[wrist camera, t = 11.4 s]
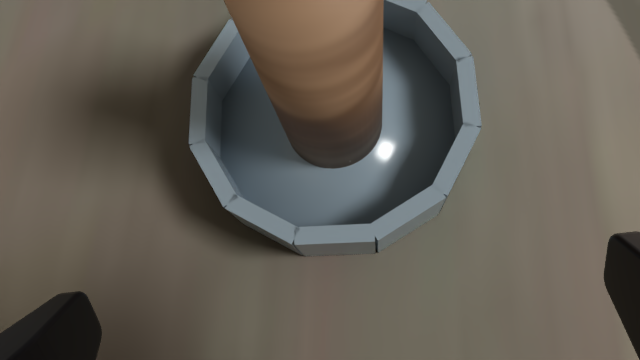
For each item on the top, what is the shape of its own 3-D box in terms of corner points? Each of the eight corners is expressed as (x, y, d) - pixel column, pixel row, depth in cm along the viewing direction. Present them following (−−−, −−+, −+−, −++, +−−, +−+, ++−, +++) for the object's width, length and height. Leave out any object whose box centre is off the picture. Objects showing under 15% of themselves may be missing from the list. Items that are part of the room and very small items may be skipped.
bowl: (480, 249, 22) (495, 236, 19) (207, 260, 23) (182, 249, 20) (452, 7, 26) (462, -34, 23) (216, 27, 27) (197, -9, 24)
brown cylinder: (360, 182, 23) (341, 26, 11) (271, 149, 24) (168, -27, 12) (396, 96, 24) (412, -128, 12) (308, 67, 25) (247, -165, 13)
